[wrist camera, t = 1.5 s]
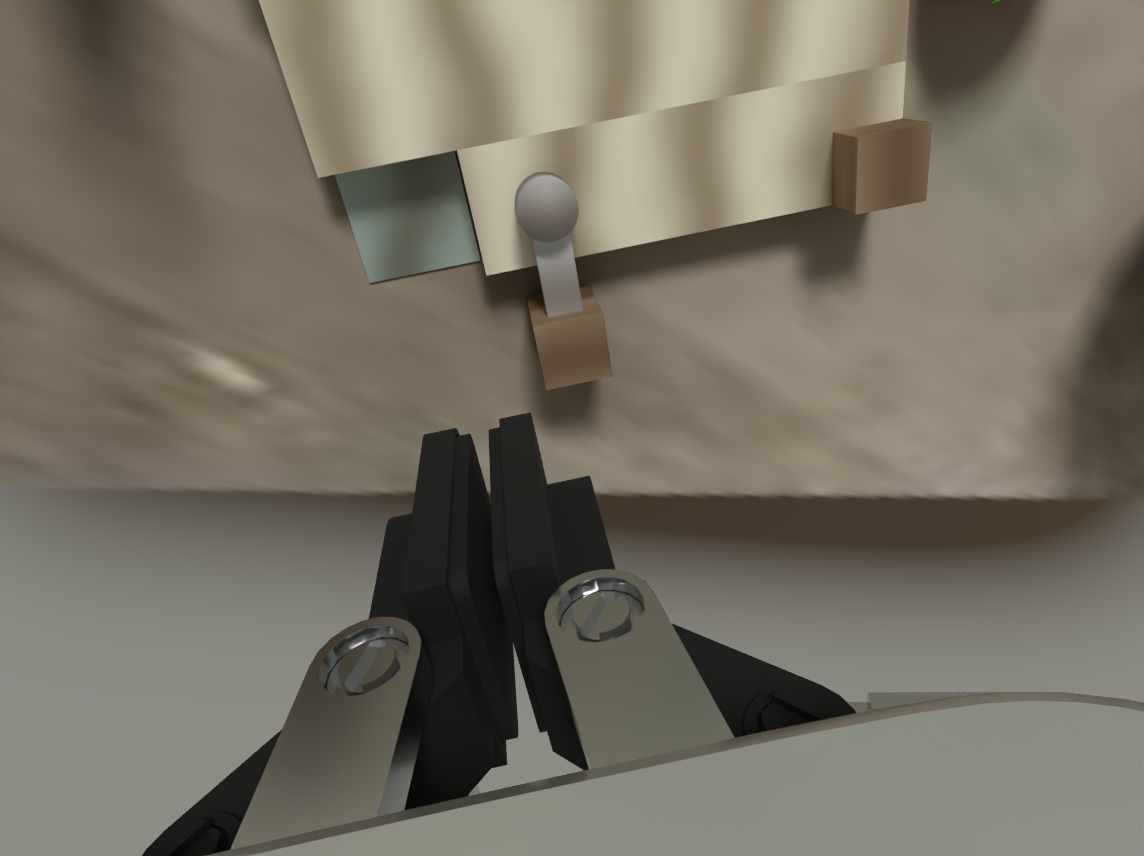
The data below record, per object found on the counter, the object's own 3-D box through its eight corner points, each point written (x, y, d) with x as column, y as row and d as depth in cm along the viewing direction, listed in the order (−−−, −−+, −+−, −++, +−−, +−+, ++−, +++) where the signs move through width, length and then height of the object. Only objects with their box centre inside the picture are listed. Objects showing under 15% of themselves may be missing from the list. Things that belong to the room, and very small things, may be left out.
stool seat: (366, 287, 37) (351, 318, 32) (207, -200, 27) (156, -250, 23) (873, 184, 38) (926, 200, 33) (895, -326, 28) (973, -398, 24)
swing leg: (500, 171, 35) (503, 187, 31) (568, 158, 35) (581, 171, 31) (538, 355, 40) (546, 390, 35) (598, 342, 40) (612, 376, 36)
